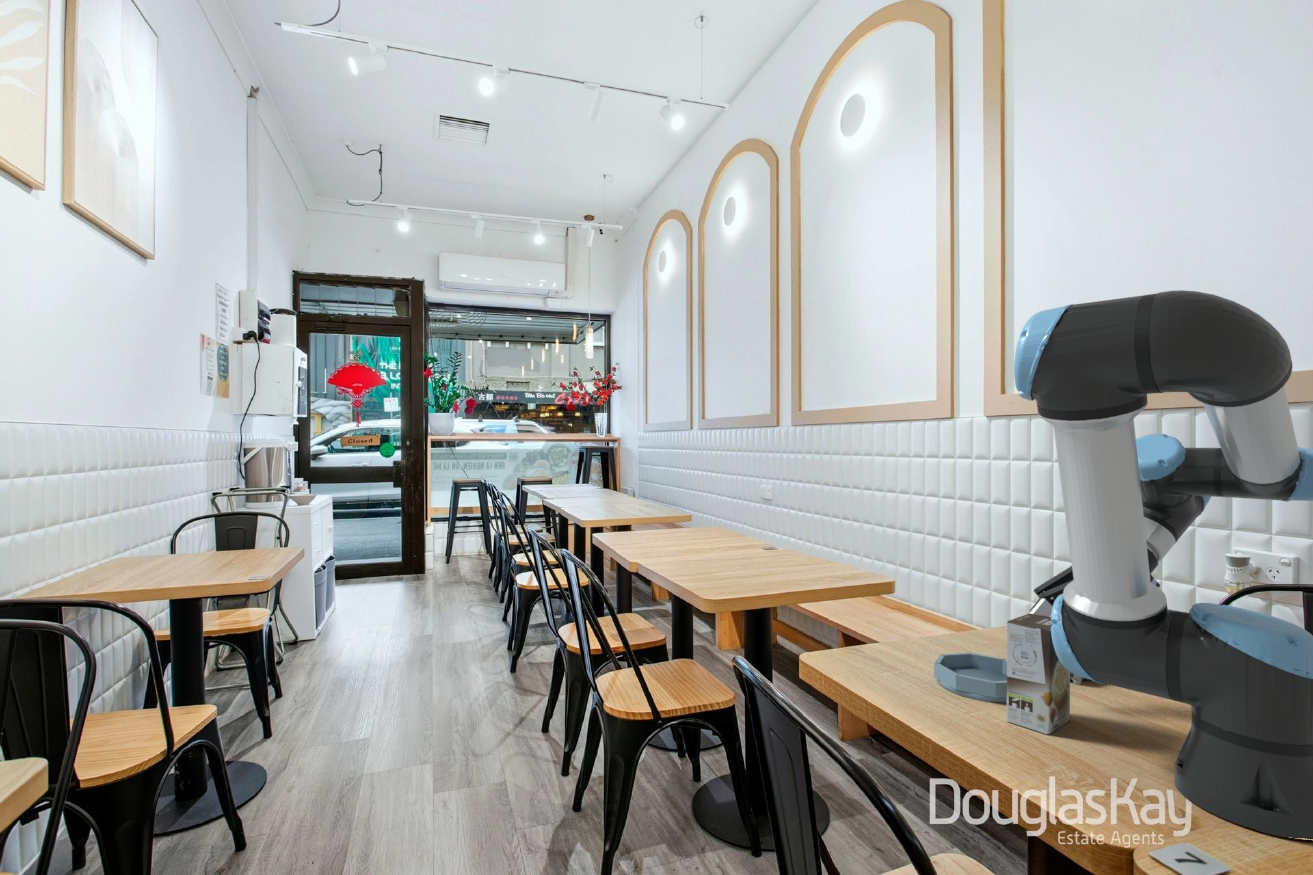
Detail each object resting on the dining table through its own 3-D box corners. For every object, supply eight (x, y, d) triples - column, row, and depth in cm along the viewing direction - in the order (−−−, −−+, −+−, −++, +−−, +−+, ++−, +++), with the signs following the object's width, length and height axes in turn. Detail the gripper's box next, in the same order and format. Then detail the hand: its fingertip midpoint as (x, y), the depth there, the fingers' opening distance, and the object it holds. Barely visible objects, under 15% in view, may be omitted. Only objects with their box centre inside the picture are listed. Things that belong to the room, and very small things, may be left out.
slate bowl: (1049, 699, 109) (1049, 679, 109) (972, 705, 106) (972, 684, 106) (988, 669, 123) (988, 651, 123) (920, 673, 121) (920, 655, 121)
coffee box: (1050, 736, 95) (1050, 630, 95) (1005, 721, 100) (1005, 621, 100) (1071, 719, 101) (1071, 620, 101) (1027, 706, 106) (1027, 611, 106)
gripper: (1227, 580, 93) (1142, 688, 90) (1085, 552, 117) (1015, 635, 115) (1197, 545, 92) (1111, 653, 89) (1060, 524, 117) (989, 608, 114)
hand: (1056, 643), depth 102 cm, fingers open, 13 cm apart
